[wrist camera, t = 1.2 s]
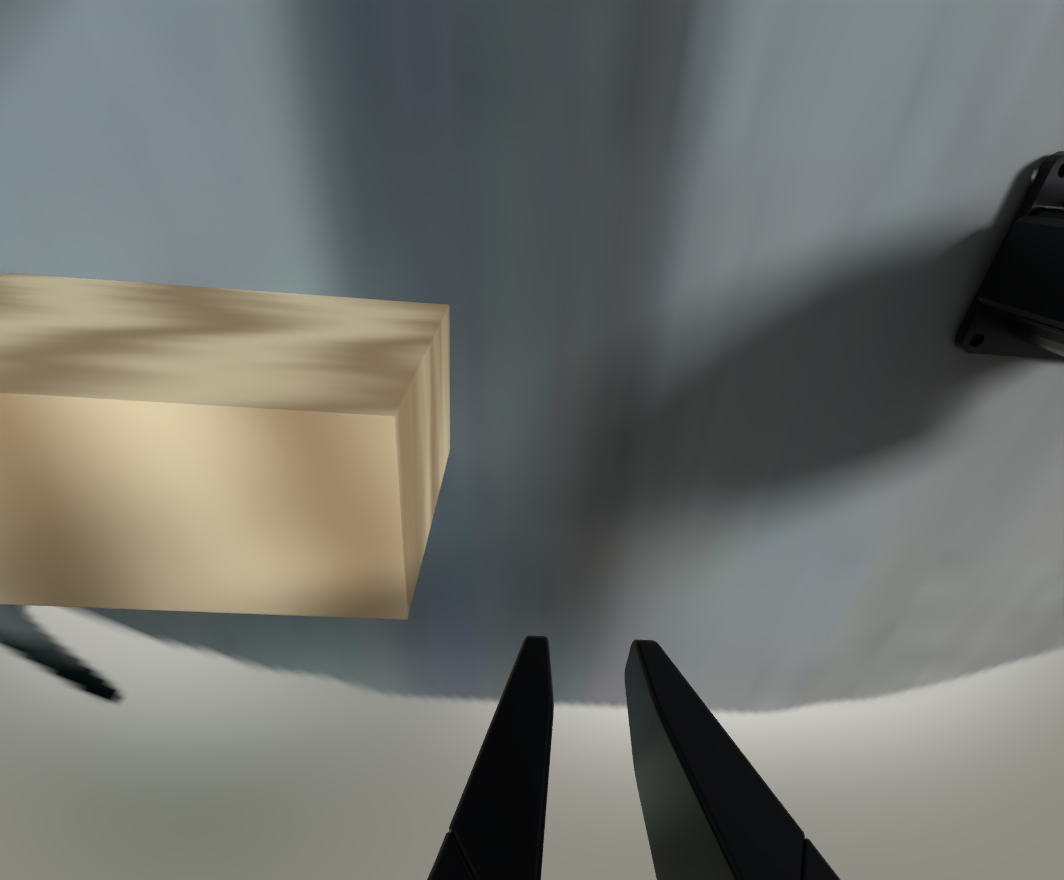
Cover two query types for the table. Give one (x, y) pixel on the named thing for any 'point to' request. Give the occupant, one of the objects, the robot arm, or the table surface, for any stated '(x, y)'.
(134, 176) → the table surface
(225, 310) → the beech block
